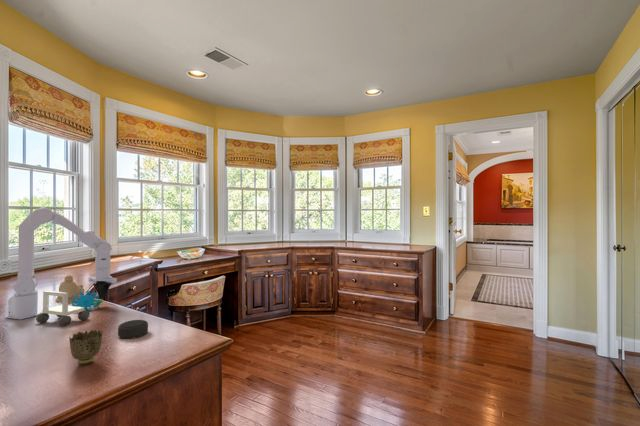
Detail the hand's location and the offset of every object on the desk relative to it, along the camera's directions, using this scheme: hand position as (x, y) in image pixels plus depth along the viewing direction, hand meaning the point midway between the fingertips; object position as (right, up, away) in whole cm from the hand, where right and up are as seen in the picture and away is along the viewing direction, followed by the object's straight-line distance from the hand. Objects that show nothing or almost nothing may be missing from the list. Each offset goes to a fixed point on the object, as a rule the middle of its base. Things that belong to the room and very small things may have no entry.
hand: (102, 298), depth 146 cm
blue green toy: (-2, -4, -6) cm, 8 cm away
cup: (+34, -3, -57) cm, 67 cm away
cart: (0, -3, -22) cm, 22 cm away
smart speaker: (+34, -3, -35) cm, 49 cm away
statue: (-22, -4, +10) cm, 25 cm away
